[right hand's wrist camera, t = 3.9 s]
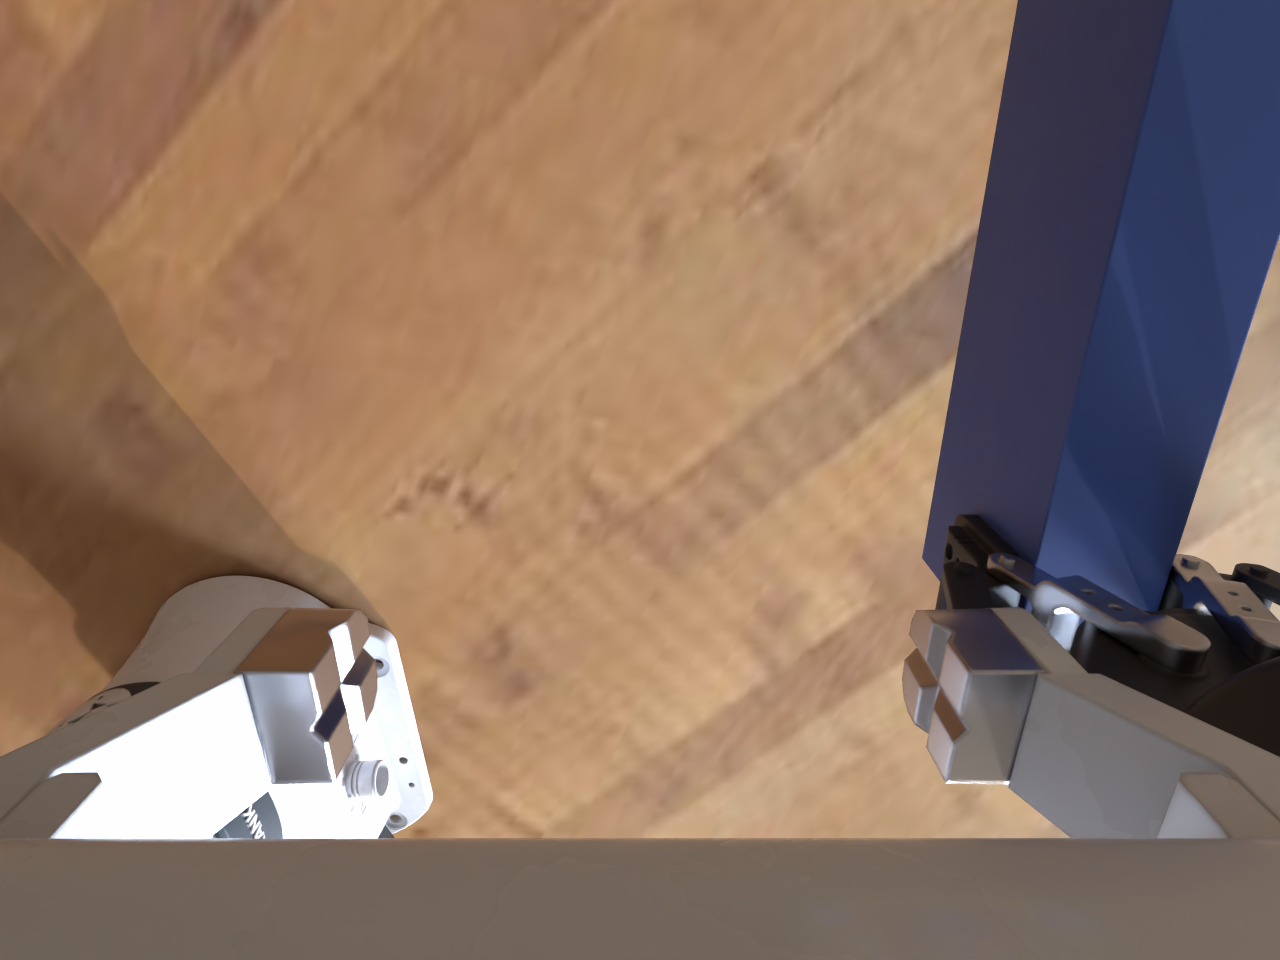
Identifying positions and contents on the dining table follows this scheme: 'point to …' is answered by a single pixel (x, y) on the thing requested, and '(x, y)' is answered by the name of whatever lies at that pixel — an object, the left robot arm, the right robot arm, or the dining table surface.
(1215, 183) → the bar
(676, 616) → the dining table surface
